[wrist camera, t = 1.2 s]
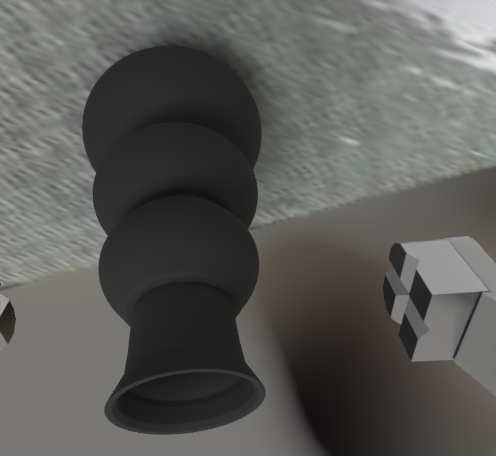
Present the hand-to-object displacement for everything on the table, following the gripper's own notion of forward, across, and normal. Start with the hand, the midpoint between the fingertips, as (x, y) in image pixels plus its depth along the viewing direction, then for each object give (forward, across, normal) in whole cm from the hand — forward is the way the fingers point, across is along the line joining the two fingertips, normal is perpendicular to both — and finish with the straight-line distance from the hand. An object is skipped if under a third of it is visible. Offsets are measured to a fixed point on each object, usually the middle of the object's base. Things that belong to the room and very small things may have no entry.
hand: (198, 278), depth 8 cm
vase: (+42, +6, +10) cm, 43 cm away
